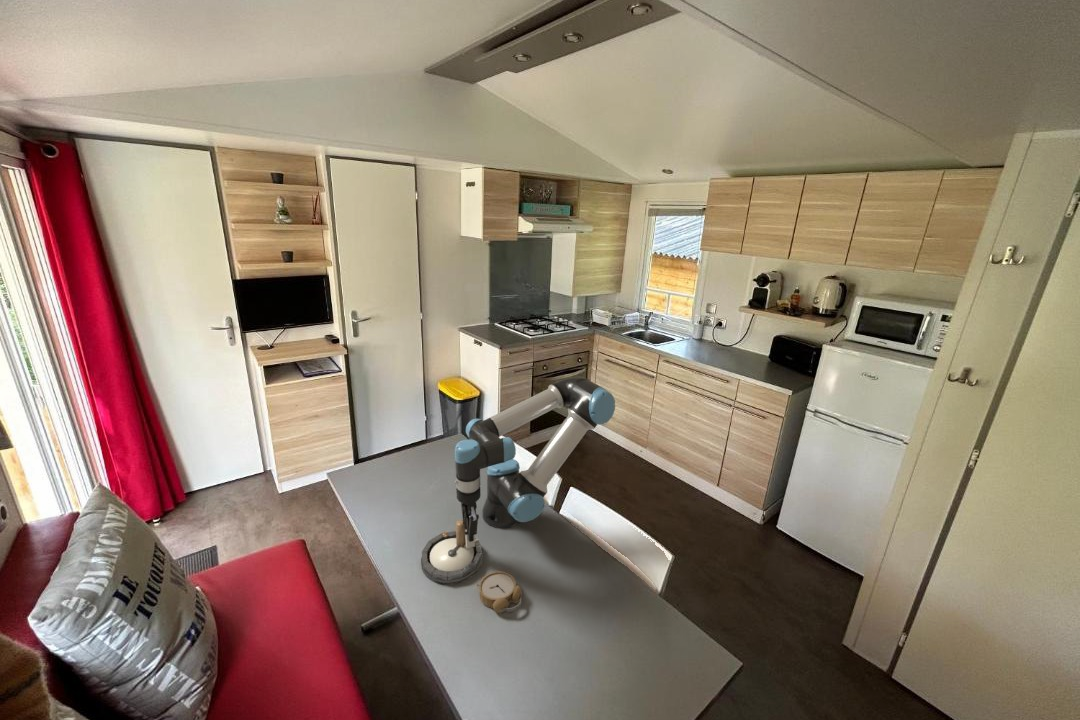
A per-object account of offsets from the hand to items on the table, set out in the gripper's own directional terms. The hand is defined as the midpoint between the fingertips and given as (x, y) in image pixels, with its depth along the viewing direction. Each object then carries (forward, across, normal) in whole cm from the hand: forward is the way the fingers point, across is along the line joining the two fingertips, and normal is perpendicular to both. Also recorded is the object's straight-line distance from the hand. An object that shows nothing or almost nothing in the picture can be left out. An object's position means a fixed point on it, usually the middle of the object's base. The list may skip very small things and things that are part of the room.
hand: (470, 546), depth 145 cm
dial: (+3, -1, -6) cm, 7 cm away
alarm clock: (+5, +19, +4) cm, 20 cm away
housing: (+4, -1, -6) cm, 7 cm away
